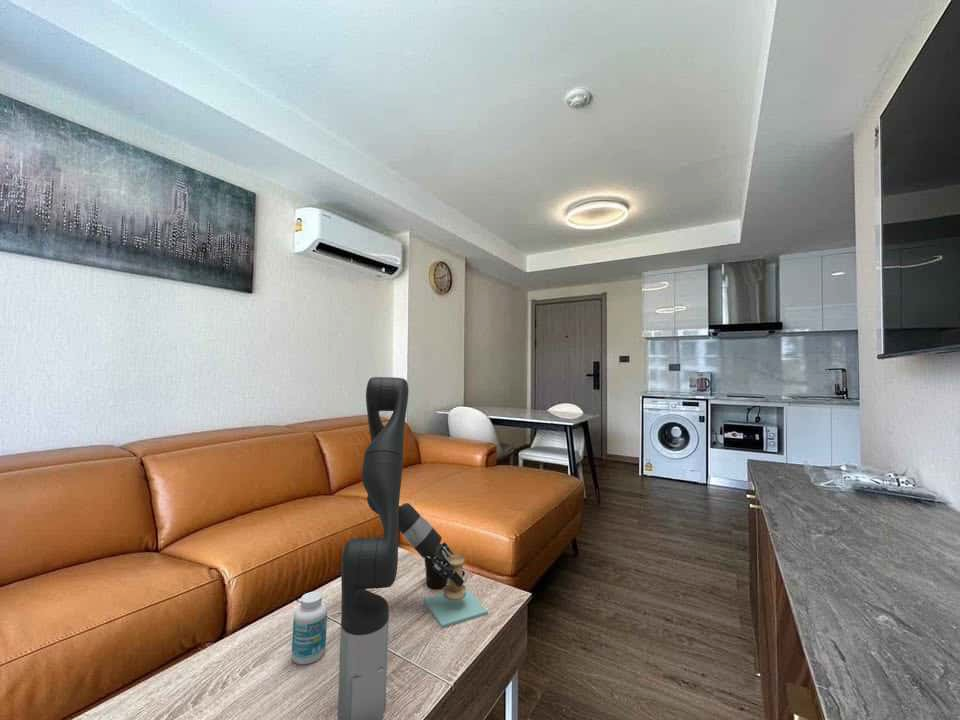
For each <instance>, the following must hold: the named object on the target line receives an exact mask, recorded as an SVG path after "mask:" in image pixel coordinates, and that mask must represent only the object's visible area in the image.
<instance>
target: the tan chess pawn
mask: <svg viewBox="0 0 960 720" xmlns="http://www.w3.org/2000/svg"><path fill="white" fill-rule="evenodd" d="M448 559H449V560H450V563H451V565H450V566H452V567H453V569H454V570H455V572H457V573H458V574H459V576H460V577H461V578H462V579H463V577H462V570H463V566H464V564H465V561H466V560H465V559H466V558H465V557H464V556H463V555H460V554H454V555H451V556H449V557H448ZM466 588H467V587H466V586H465V585H464V583H463V584H462V585H461V586H460V587H458V586H457V585H456V584H455V583H454V582H453V581H452V580H451V579H450V578H449V579H447V585H446V586H445V587H444V588H443V593H444V596H445V598H447V599H449V600H461V599H463V598H464V597H465V596H466Z"/></svg>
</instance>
